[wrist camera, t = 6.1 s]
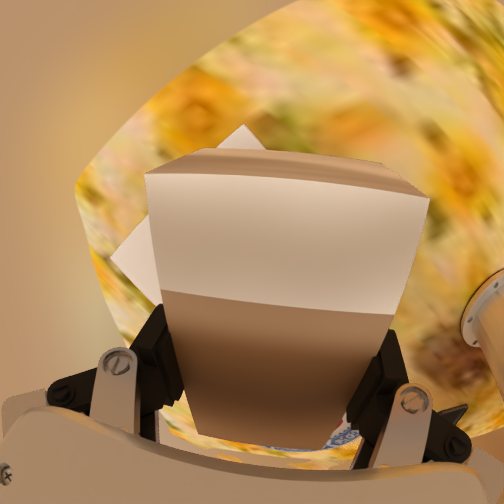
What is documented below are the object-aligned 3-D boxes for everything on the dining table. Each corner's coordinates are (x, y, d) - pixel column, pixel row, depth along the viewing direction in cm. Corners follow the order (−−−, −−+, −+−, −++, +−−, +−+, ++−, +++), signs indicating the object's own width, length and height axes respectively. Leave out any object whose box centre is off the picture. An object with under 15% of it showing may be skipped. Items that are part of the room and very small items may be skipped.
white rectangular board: (351, 259, 26) (351, 262, 25) (200, 342, 35) (198, 345, 35) (244, 123, 22) (243, 124, 21) (112, 255, 31) (109, 257, 31)
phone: (469, 405, 34) (445, 437, 41) (468, 401, 35) (445, 433, 42) (437, 415, 36) (417, 444, 43) (436, 410, 37) (416, 440, 44)
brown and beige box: (322, 387, 14) (321, 450, 10) (217, 375, 15) (198, 434, 11) (380, 163, 8) (429, 198, 5) (203, 148, 9) (144, 173, 6)
